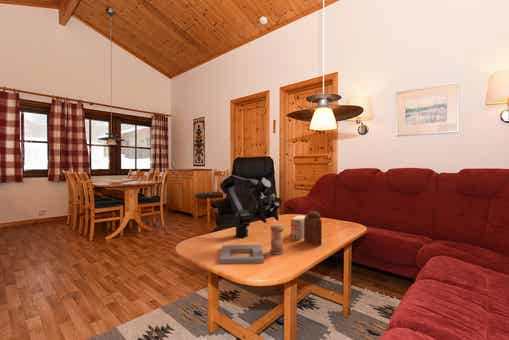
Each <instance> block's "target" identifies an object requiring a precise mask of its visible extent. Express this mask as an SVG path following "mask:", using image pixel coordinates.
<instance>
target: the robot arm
mask: <svg viewBox="0 0 509 340" xmlns="http://www.w3.org/2000/svg"><path fill="white" fill-rule="evenodd" d="M236 184H238V185H241V186H243V188H245V189H246V190H251V191H249V194H248V195H249V197H251V196H252V198H253V199H254V204H255V205H253V206H252V207H251V208H250V209H249V211H248V209H247V210H246V209H245V210H244V209H243V206H242V205H241V203H240V201H239V199H238V197H237V195H236V193H235V186H236ZM271 186H272V183H271V182H270V180H269V179H266V178H265V177H261V178H260V179H257V178H245V177H242V176H237V175H235V174H233V175H232V174H230V175H228V177H226V178H225V179H224V180H222V181H221V183H220V184H219V187H220V190H221V191H222V193H224V194H225V195H227V198H228V200H229V202H230V204H231V206H232V208H233V211H234V212H235V221H234V222H233V223H232V224H233V227H234V228H235V235H234V238H235V237H236V238H240V239H241V238H242V239H245V238H247V237H248V236H249V233H248V232H249V229H248V227H250V223H251V220H252V217H256V218H257V219H259V220H260V221H262V222H263V224H267V223H268V222H267V219H266V217H265V215H264V213H263V212H264V211H265V210H266V211H267V210H268V211H269V213H270V214H271V216H272V217H273V218H274V219H275V220H276V221H277V222H278V221H279V220H280V219H279V214H278V210H279V207H280V206H281V205H280V202H277V201H276V199H277V197H276V194H274V193H272V194H270V195H264V193H266V192H267V191H268V189H270V188H271ZM275 201H276V202H275ZM251 216H252V217H251Z"/></svg>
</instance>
